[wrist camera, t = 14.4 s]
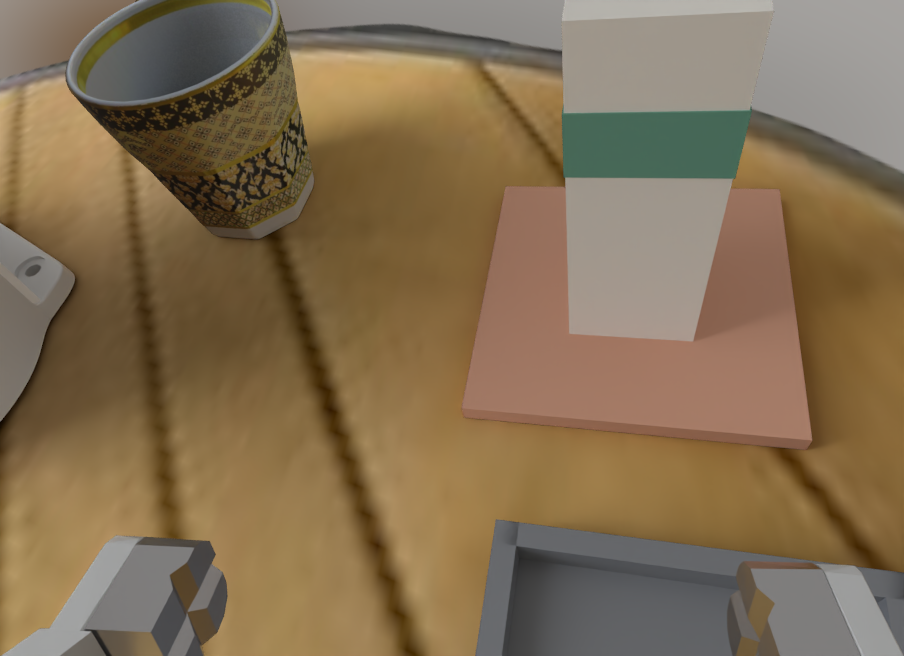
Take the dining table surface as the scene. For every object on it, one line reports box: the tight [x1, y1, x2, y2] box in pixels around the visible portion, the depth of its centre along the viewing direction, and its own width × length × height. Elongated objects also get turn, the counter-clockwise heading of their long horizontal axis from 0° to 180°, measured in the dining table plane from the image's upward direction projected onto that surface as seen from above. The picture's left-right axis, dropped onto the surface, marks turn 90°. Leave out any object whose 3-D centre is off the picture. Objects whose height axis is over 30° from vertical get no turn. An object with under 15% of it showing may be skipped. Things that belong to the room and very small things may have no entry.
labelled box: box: [562, 0, 774, 342], centre depth 23 cm, size 5×5×14 cm
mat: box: [461, 186, 812, 450], centre depth 29 cm, size 13×13×1 cm
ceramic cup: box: [65, 0, 314, 239], centre depth 35 cm, size 13×10×10 cm
